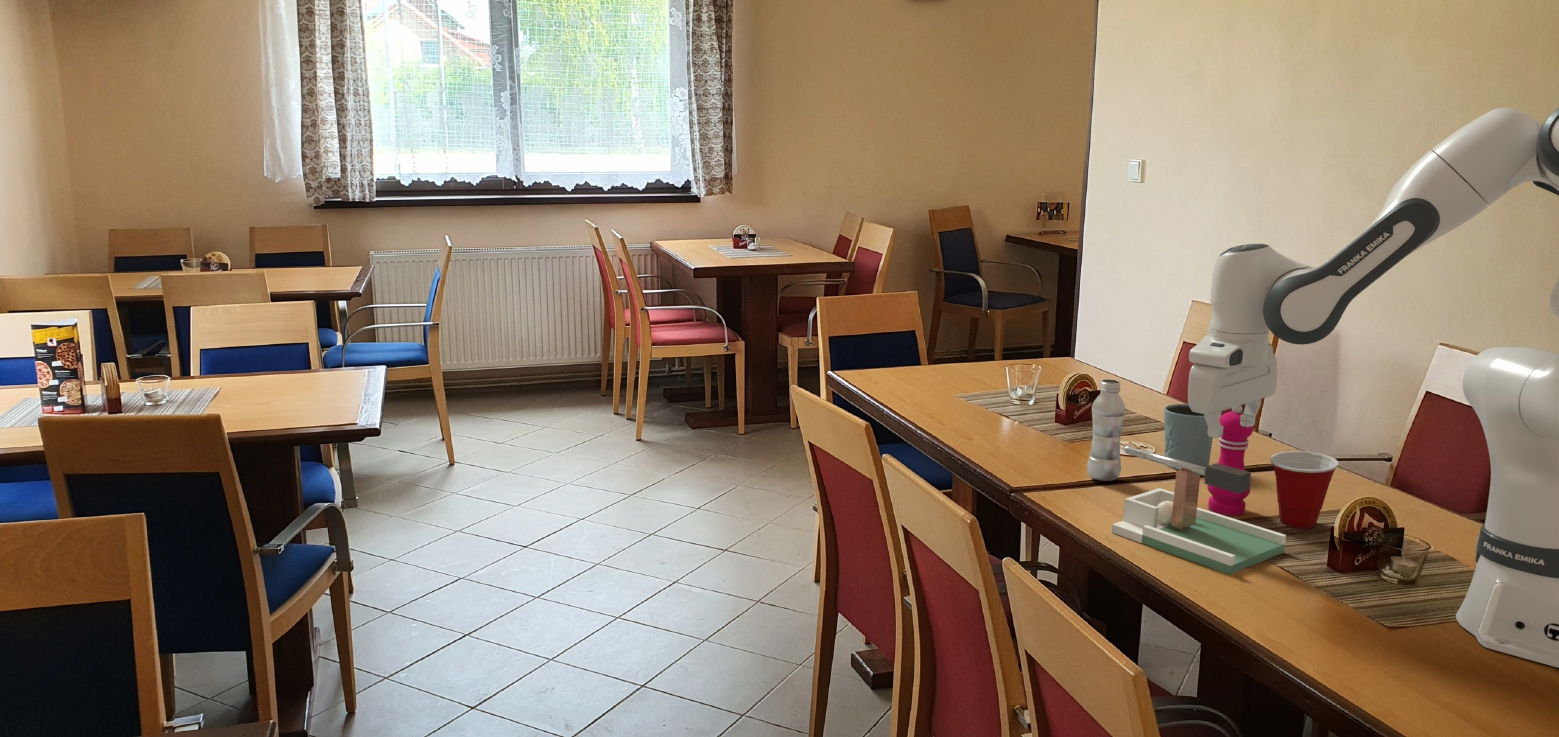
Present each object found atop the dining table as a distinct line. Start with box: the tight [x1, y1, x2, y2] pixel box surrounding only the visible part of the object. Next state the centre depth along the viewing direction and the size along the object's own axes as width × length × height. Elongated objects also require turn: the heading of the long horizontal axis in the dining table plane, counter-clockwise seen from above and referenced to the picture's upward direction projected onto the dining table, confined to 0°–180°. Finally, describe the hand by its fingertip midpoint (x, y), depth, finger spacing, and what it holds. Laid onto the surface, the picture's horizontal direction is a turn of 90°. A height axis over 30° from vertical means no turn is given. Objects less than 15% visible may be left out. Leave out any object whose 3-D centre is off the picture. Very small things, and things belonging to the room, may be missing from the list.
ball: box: [1157, 501, 1173, 524], centre depth 184 cm, size 4×4×4 cm
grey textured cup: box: [1163, 403, 1214, 471], centre depth 220 cm, size 10×10×12 cm
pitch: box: [1111, 487, 1287, 576], centre depth 179 cm, size 22×16×6 cm
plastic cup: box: [1269, 450, 1339, 529], centre depth 188 cm, size 11×11×12 cm
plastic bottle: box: [1086, 379, 1126, 482], centre depth 210 cm, size 6×7×20 cm
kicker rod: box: [1123, 445, 1252, 529], centre depth 181 cm, size 23×4×12 cm, turn 37°
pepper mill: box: [1206, 405, 1254, 516], centre depth 193 cm, size 7×7×20 cm
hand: (1231, 431), depth 172 cm, fingers open, 8 cm apart
